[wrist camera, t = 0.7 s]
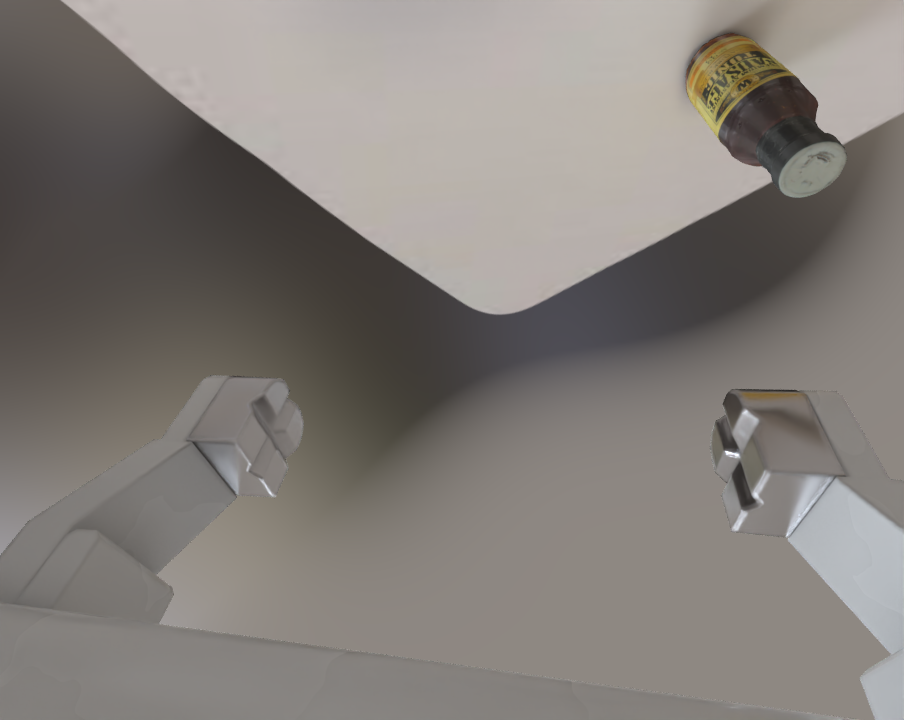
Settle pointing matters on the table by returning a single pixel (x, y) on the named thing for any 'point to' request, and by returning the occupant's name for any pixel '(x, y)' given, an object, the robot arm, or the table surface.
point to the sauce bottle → (763, 114)
